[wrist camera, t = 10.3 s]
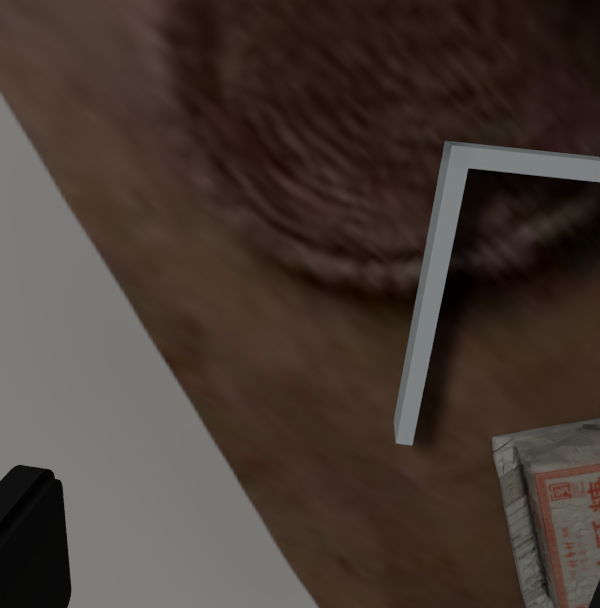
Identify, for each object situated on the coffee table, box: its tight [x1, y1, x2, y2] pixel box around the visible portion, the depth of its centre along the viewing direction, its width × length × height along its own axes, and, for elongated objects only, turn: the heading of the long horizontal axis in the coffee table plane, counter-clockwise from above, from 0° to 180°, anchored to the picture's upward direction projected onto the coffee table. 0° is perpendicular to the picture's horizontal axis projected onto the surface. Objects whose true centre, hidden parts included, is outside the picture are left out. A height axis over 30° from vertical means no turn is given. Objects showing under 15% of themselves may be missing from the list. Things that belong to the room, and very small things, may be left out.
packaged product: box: [492, 418, 600, 608], centre depth 43 cm, size 18×5×10 cm
